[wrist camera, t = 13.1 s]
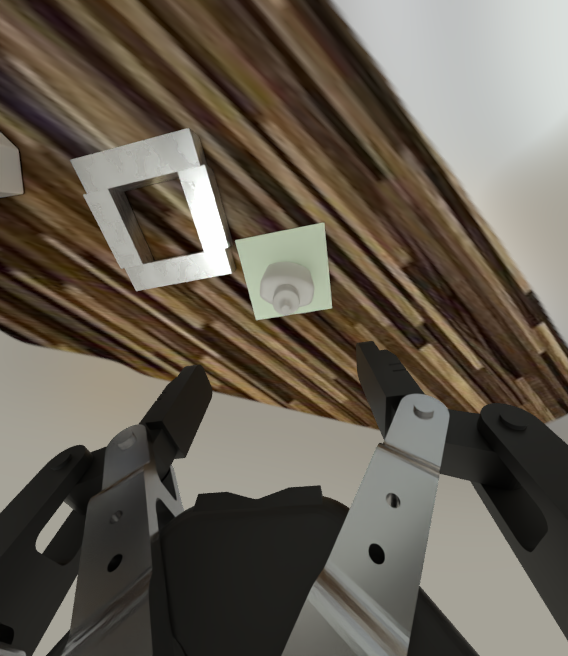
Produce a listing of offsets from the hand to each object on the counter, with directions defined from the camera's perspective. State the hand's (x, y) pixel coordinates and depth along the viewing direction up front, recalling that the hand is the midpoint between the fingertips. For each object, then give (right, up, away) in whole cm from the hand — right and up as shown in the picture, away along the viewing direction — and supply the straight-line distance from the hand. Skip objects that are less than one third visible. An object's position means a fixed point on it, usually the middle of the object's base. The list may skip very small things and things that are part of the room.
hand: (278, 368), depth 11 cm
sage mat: (+1, +9, +18) cm, 20 cm away
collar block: (-14, +15, +16) cm, 26 cm away
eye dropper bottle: (+1, +9, +18) cm, 20 cm away
